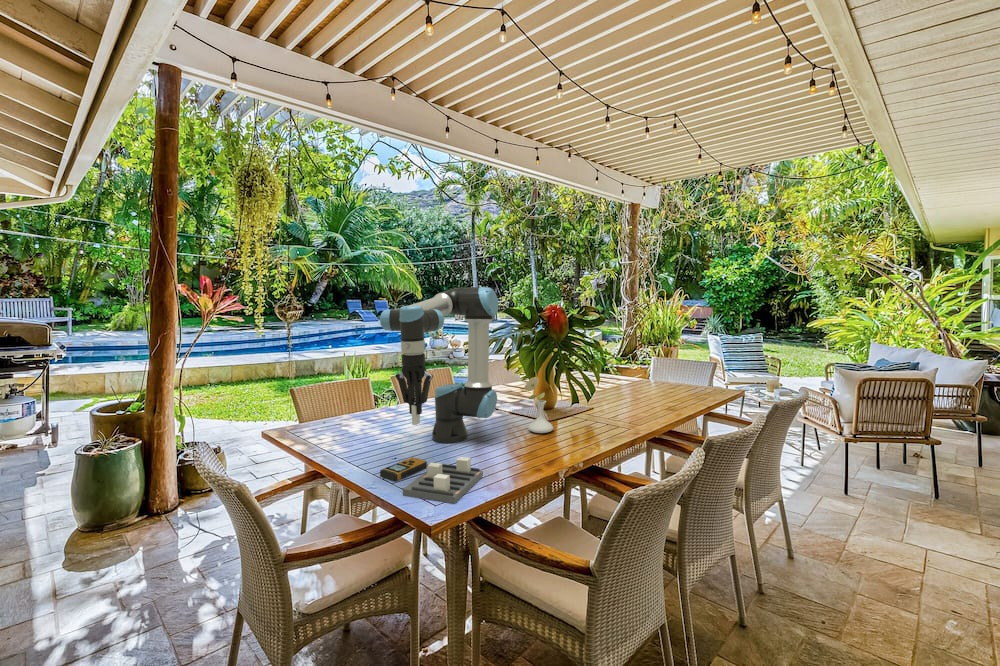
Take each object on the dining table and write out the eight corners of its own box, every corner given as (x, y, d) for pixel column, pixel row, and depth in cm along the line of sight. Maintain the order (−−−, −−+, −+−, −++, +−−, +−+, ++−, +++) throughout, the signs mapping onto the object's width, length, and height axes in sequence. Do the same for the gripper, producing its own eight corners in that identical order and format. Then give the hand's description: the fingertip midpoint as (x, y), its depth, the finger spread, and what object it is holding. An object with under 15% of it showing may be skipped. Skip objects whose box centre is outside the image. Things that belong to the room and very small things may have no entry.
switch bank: (436, 470, 170) (435, 462, 170) (482, 476, 164) (482, 468, 164) (402, 495, 150) (402, 486, 150) (454, 503, 144) (454, 494, 143)
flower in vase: (547, 426, 222) (547, 373, 220) (557, 433, 212) (557, 377, 209) (520, 429, 218) (520, 375, 216) (530, 436, 207) (529, 379, 205)
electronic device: (428, 469, 173) (428, 460, 173) (396, 483, 160) (395, 473, 160) (412, 464, 178) (411, 455, 178) (379, 477, 165) (378, 468, 165)
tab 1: (431, 475, 160) (431, 462, 160) (442, 477, 159) (442, 463, 158) (427, 478, 157) (427, 465, 157) (438, 480, 156) (437, 467, 155)
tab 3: (460, 469, 165) (460, 456, 165) (470, 470, 164) (470, 458, 163) (456, 472, 162) (456, 459, 162) (467, 474, 161) (467, 461, 161)
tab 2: (438, 487, 150) (438, 473, 150) (450, 489, 149) (449, 475, 148) (433, 491, 147) (433, 477, 147) (445, 493, 146) (445, 478, 146)
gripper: (389, 354, 155) (393, 425, 157) (425, 355, 151) (428, 428, 153) (401, 351, 162) (404, 419, 164) (436, 352, 158) (439, 421, 160)
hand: (416, 423), depth 159 cm, fingers closed
